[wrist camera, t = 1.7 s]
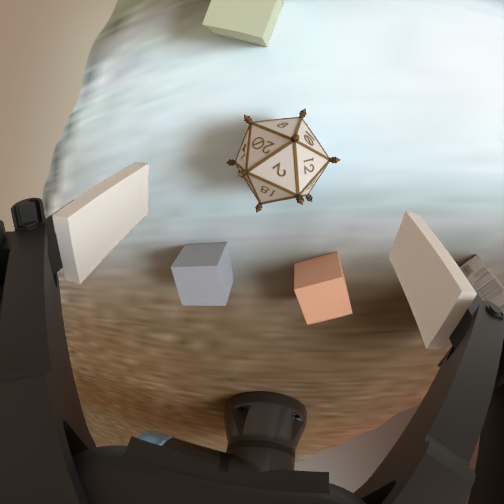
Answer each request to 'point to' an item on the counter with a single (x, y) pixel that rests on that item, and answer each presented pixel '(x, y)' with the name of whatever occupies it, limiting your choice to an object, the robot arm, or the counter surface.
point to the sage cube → (243, 19)
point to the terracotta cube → (321, 288)
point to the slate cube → (203, 274)
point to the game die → (280, 159)
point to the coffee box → (484, 281)
